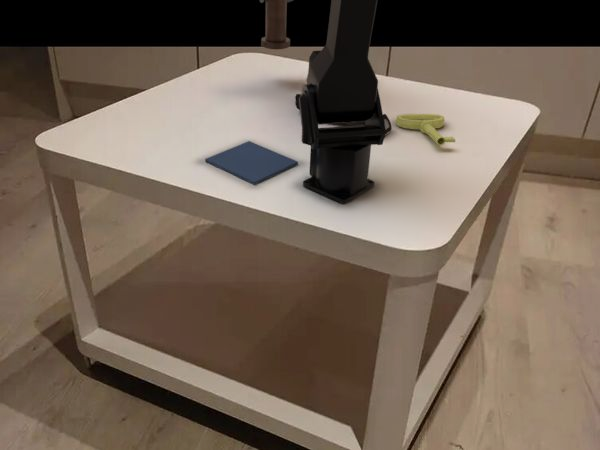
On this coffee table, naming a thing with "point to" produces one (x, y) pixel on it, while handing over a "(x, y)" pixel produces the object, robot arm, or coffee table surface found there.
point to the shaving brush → (276, 25)
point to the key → (424, 125)
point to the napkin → (251, 162)
